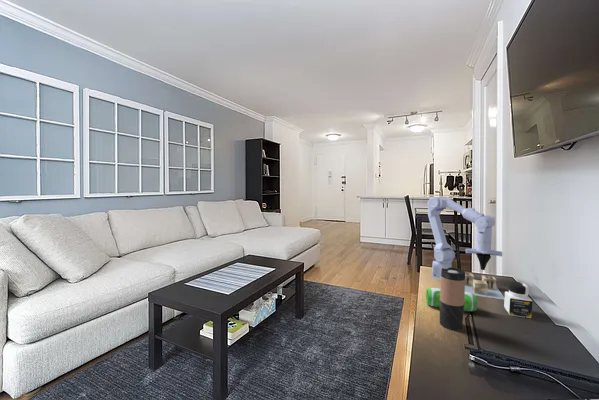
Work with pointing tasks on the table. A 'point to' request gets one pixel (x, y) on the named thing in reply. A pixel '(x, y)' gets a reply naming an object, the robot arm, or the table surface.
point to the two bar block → (490, 282)
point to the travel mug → (452, 298)
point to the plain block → (480, 287)
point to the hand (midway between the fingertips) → (482, 269)
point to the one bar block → (469, 279)
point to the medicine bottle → (518, 300)
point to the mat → (490, 293)
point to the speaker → (434, 299)
